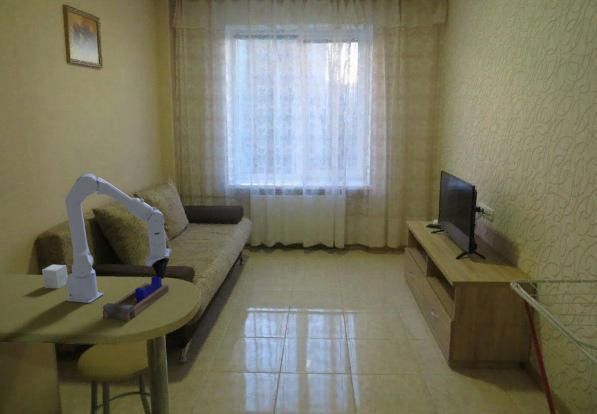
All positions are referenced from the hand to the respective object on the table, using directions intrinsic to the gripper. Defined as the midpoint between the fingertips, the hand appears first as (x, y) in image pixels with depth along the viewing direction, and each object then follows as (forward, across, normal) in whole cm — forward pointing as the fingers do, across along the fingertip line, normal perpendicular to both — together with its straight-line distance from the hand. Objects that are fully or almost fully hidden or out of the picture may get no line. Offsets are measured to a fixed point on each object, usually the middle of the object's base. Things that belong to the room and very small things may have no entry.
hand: (161, 278), depth 172 cm
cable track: (+3, -15, 0) cm, 16 cm away
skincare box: (+4, -6, +41) cm, 42 cm away
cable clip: (+4, -10, -1) cm, 11 cm away
